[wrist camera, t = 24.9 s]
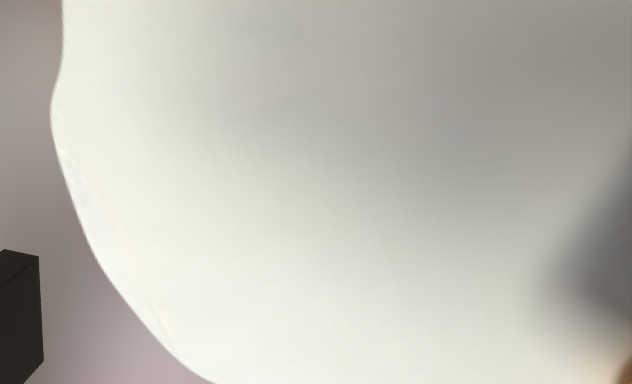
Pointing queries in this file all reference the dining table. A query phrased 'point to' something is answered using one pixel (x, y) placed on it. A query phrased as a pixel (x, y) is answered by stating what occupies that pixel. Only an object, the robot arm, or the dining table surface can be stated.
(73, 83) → the dining table surface
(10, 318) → the robot arm
